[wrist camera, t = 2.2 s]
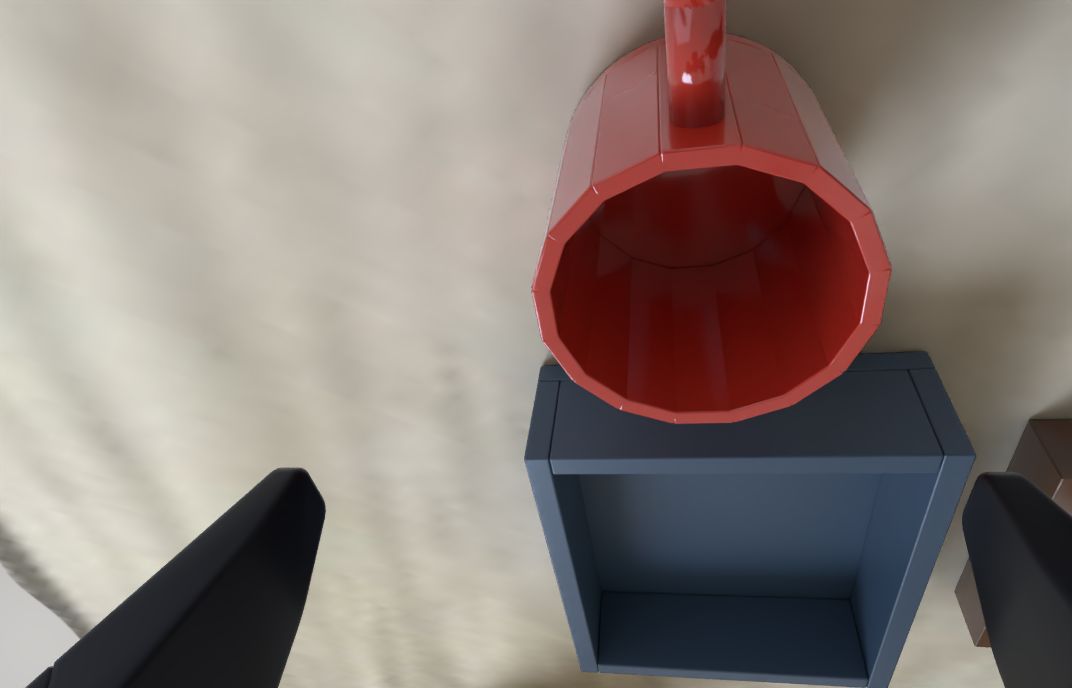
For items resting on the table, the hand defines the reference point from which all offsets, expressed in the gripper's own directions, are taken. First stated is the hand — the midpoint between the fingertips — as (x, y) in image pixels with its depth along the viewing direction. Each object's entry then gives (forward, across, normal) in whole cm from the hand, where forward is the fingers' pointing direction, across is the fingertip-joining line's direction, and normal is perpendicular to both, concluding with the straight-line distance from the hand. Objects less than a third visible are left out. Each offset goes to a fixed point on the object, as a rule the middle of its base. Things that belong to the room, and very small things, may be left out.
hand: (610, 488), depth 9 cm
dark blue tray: (+12, -3, +16) cm, 20 cm away
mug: (+12, -1, 0) cm, 12 cm away
